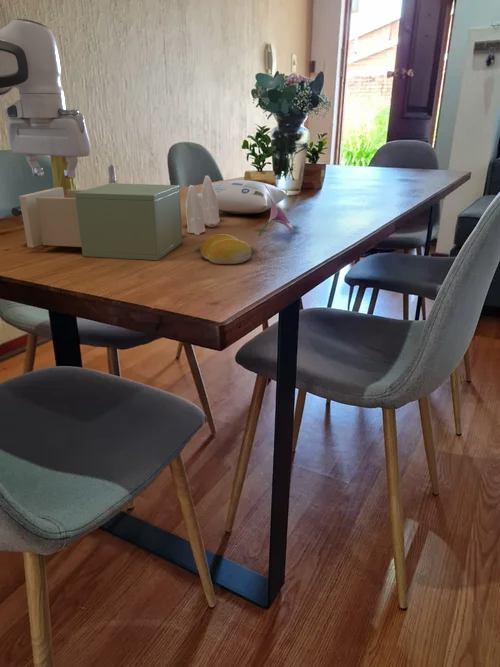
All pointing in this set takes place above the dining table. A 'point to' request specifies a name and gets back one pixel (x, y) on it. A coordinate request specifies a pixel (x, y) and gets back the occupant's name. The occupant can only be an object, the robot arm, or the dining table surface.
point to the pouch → (246, 196)
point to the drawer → (50, 218)
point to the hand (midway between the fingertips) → (54, 177)
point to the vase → (61, 174)
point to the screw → (112, 174)
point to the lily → (277, 216)
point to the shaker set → (202, 208)
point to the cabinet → (129, 220)
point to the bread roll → (225, 249)
